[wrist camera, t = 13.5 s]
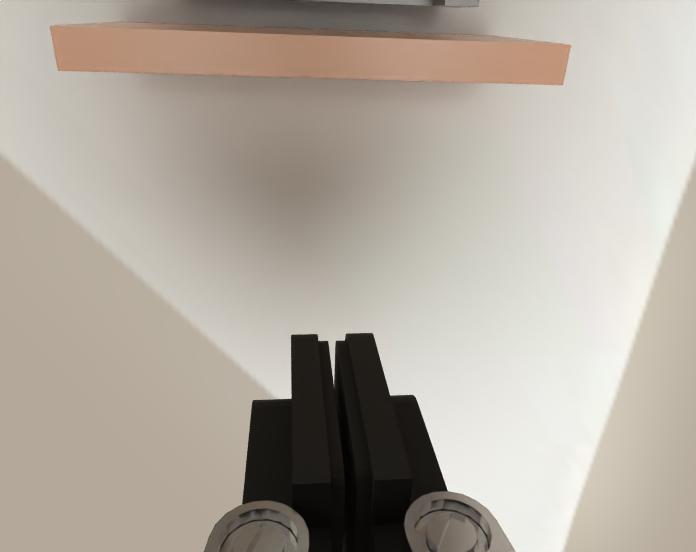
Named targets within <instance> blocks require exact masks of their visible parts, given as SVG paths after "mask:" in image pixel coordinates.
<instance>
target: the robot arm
mask: <svg viewBox="0 0 696 552" xmlns="http://www.w3.org/2000/svg"><path fill="white" fill-rule="evenodd" d="M291 379H292V399H275V400H253V402H252V410H251V420H250V431H249V441H248V451H247V461H246V472H245V483H244V492H243V503H242V505H240V506H238V507H236V508H234V509H233V510H231V511H229V512H228V513H226V514H225V515H224V516H223V517H222V518H221V519H220V520H219V521H218V522H217V523H216V524H215V526H214V528H213V530H212V532H211V534H210V536H209V538H208V541H207V544H206V547H205V550H204V552H515V550H514V548H513V547H512V545H511V543H510V542H509V540H508V538H507V537H506V535H505V533H504V532H503V530H502V528H501V527H500V525H499V523H498V522H497V520H496V519H495V518H494V516H493V515H492V514H491V513H490V511H489V510H488V509H487V508H486V507H484V506H483V505H482V504H480V503H479V502H478V501H476V500H474V499H472V498H470V497H468V496H465V495H463V494H459V493H454V492H449V491H447V488H446V485H445V482H444V479H443V476H442V473H441V470H440V467H439V464H438V461H437V458H436V455H435V452H434V449H433V446H432V444H431V441H430V438H429V435H428V432H427V429H426V426H425V423H424V420H423V417H422V414H421V411H420V408H419V405H418V402H417V400H416V398H415V396H413V395H398V396H390V394H389V390H388V387H387V383H386V379H385V376H384V372H383V368H382V365H381V361H380V357H379V354H378V350H377V346H376V343H375V339H374V335H373V333H356V334H346V337H345V341H336V346H335V379H334V384H333V376H332V368H331V360H330V352H329V344H328V341H318V335H317V334H308V335H291Z"/></svg>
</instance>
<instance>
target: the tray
mask: <svg viewBox="0 0 696 552" xmlns="http://www.w3.org/2000/svg"><path fill="white" fill-rule="evenodd" d="M296 1H319V2H342V3H366V4H389V5H412V6H435V7H478V4H479V0H296ZM50 29H51V35H52V40H53V46H54V51H55V57H56V62H57V68H58V71H91V72H125V73H160V74H195V75H230V76H265V77H299V78H334V79H369V80H404V81H439V82H473V83H508V84H543V85H563V82H564V77H565V72H566V67H567V62H568V57H569V52H570V47H571V45H567V44H559V43H550V42H542V41H533V40H525V39H516V38H508V37H499V36H484V35H458V34H431V33H405V32H378V31H352V30H326V29H299V28H273V27H246V26H220V25H194V24H167V23H141V22H107V23H90V24H73V25H55V26H50Z"/></svg>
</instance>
